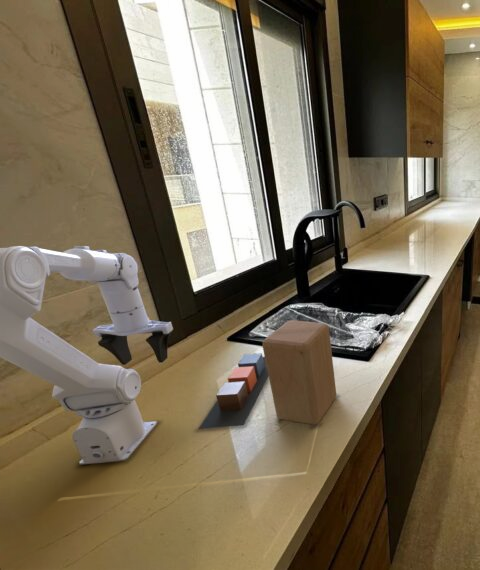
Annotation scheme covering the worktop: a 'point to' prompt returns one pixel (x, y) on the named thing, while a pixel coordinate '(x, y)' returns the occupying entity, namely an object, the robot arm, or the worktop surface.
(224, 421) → the line mat
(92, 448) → the robot arm
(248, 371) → the terracotta block
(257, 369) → the slate-blue block
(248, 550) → the worktop surface
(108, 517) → the worktop surface
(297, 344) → the wooden block
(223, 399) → the walnut block
